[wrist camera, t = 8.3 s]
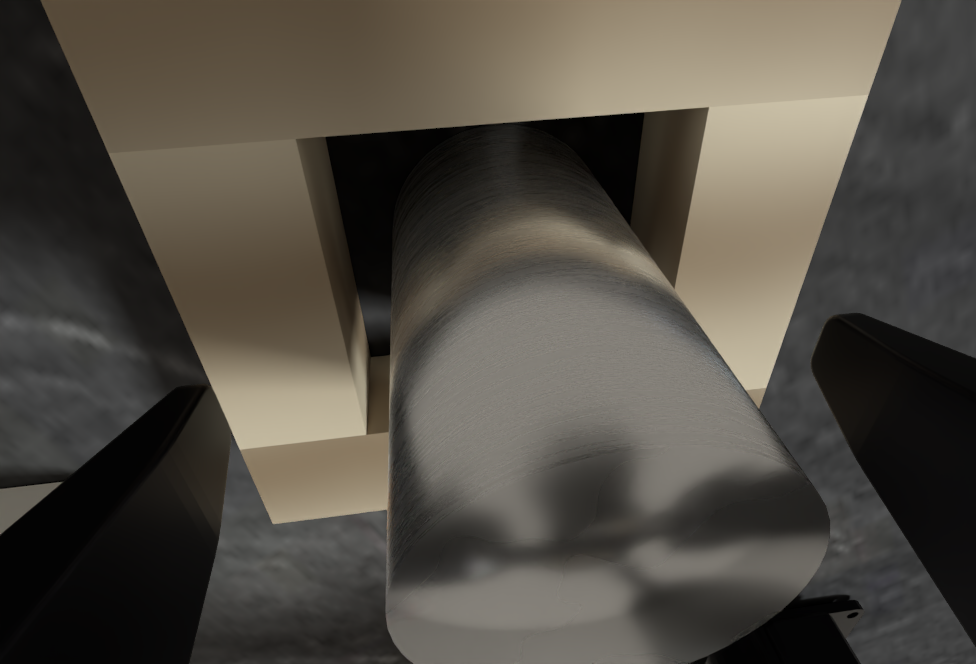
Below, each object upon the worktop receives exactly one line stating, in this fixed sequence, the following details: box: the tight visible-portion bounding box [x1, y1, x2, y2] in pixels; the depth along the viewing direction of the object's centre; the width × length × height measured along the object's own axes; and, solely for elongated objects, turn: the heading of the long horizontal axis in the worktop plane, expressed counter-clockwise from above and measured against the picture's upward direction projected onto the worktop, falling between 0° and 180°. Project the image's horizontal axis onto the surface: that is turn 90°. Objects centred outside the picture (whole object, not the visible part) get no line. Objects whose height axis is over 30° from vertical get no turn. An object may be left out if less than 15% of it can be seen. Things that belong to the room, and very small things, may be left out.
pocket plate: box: [41, 0, 901, 524], centre depth 11 cm, size 11×11×2 cm
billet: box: [386, 124, 830, 664], centre depth 9 cm, size 4×4×8 cm
